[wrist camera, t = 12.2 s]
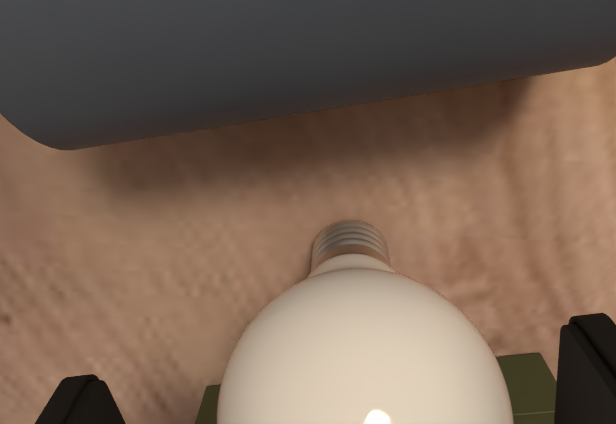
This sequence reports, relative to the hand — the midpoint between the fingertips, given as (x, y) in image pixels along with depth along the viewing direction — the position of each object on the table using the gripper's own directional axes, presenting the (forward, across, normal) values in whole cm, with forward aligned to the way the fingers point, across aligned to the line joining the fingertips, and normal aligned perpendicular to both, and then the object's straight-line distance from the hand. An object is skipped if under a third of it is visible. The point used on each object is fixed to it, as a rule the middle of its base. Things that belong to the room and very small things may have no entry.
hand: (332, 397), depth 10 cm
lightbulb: (+8, -1, +1) cm, 9 cm away
